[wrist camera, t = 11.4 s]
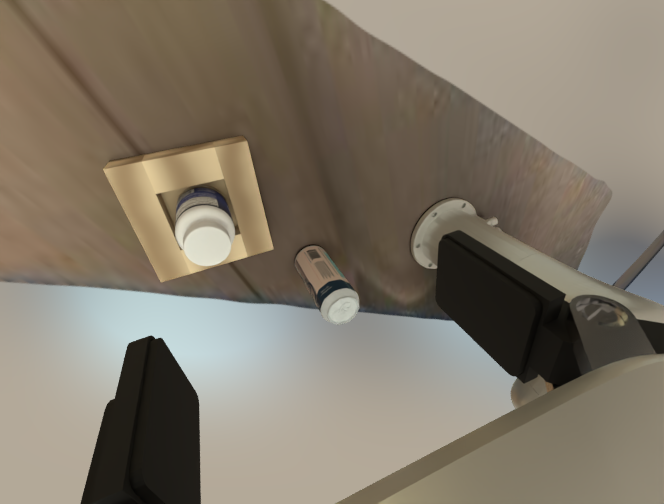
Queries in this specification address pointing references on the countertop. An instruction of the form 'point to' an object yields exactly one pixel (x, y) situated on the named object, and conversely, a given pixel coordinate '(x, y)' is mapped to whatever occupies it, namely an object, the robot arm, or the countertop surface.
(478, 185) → the countertop surface
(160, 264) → the socket block
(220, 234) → the pill bottle
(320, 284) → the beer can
